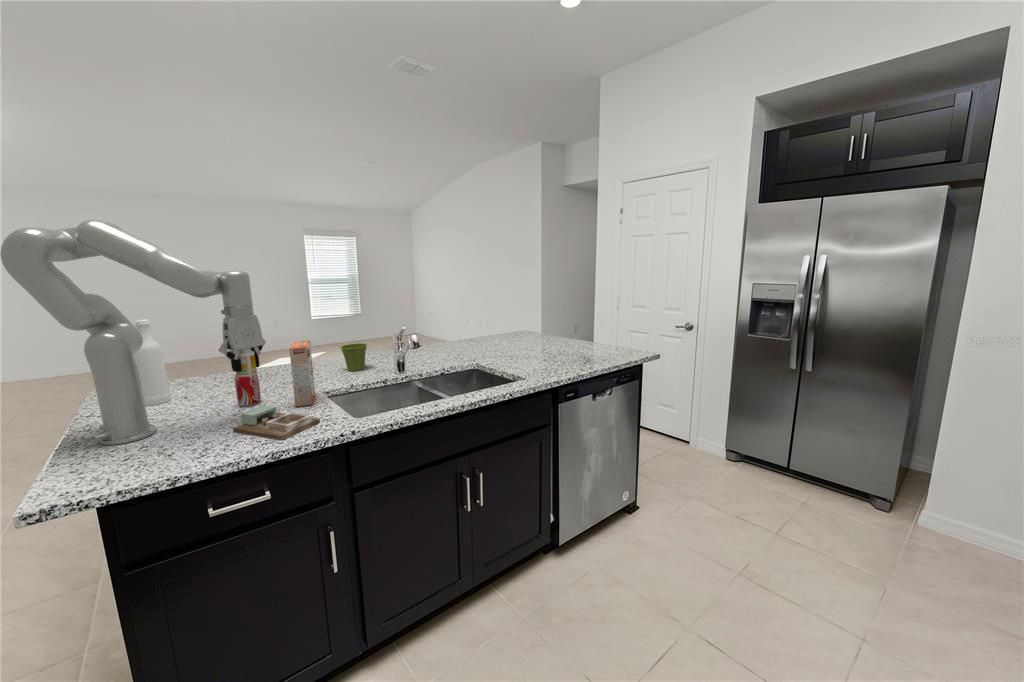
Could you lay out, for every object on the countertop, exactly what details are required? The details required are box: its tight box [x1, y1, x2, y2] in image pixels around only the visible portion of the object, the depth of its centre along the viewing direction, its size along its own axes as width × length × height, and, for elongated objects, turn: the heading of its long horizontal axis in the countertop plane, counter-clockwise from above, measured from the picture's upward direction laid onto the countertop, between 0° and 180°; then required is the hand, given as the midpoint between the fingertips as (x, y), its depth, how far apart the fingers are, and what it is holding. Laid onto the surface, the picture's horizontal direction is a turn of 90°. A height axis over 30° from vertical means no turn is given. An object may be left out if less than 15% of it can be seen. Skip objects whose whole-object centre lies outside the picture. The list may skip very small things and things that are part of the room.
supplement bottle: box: [237, 348, 258, 377], centre depth 133 cm, size 5×5×10 cm
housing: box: [240, 404, 278, 425], centre depth 130 cm, size 8×5×3 cm, turn 160°
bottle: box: [133, 319, 171, 407], centre depth 151 cm, size 8×8×30 cm
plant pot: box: [339, 342, 368, 372], centre depth 195 cm, size 12×12×11 cm
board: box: [232, 412, 321, 441], centre depth 128 cm, size 14×19×3 cm
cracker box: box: [289, 339, 316, 408], centre depth 151 cm, size 14×6×21 cm, turn 22°
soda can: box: [234, 372, 262, 407], centre depth 149 cm, size 7×7×12 cm
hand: (246, 368), depth 134 cm, fingers closed on supplement bottle, 5 cm apart
